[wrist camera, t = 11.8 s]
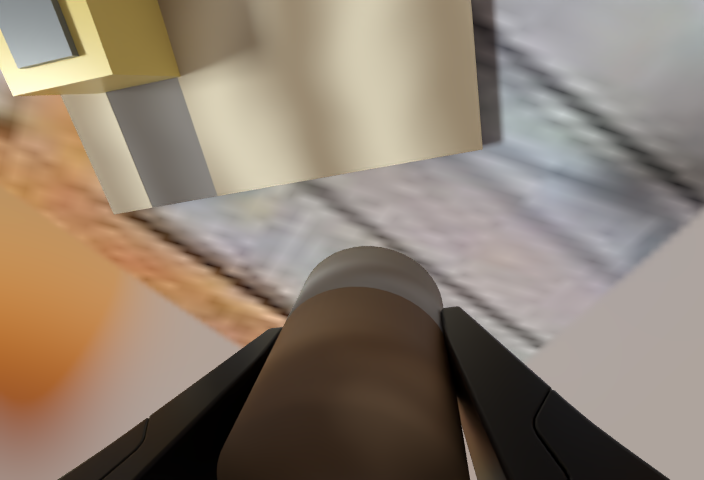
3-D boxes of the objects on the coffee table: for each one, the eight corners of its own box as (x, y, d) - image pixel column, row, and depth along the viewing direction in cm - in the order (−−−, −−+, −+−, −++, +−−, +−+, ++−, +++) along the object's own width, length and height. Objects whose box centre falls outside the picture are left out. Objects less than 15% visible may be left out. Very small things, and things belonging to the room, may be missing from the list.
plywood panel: (446, -257, 13) (449, -277, 12) (479, 146, 18) (482, 149, 17) (-3, -81, 17) (-22, -89, 16) (123, 210, 22) (113, 214, 21)
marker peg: (440, 241, 9) (473, 405, 5) (445, 367, 11) (473, 587, 6) (289, 250, 10) (186, 402, 5) (313, 367, 11) (248, 566, 7)
